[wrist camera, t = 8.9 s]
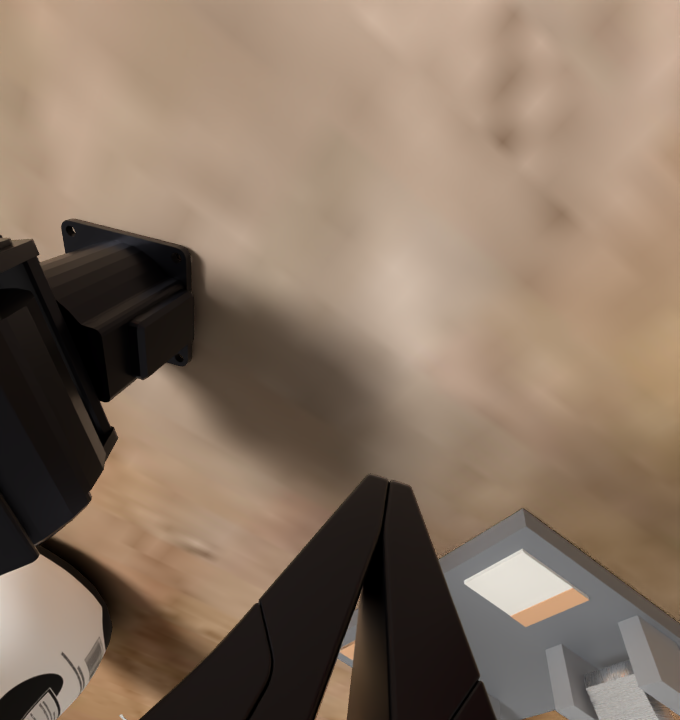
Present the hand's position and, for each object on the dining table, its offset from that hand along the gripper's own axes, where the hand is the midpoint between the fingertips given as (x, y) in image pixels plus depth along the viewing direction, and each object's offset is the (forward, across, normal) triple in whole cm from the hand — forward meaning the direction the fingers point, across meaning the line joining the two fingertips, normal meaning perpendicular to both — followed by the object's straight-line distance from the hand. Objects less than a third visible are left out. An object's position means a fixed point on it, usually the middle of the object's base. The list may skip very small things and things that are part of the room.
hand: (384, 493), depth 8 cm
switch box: (+12, -10, +23) cm, 28 cm away
